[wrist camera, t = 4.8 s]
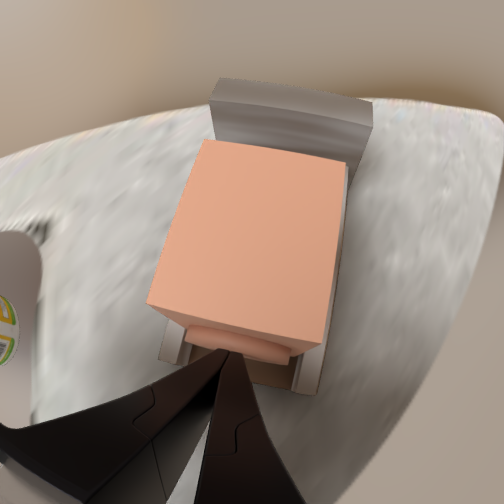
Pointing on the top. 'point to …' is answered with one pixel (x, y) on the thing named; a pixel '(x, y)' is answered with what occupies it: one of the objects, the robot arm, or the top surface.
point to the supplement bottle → (8, 331)
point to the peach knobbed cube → (252, 251)
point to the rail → (294, 140)
